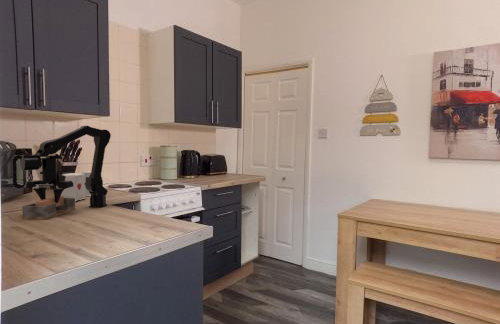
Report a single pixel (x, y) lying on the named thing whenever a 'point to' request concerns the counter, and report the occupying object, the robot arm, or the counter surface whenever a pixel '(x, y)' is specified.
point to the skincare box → (87, 174)
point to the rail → (50, 201)
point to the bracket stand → (47, 210)
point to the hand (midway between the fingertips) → (50, 202)
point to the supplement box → (75, 186)
